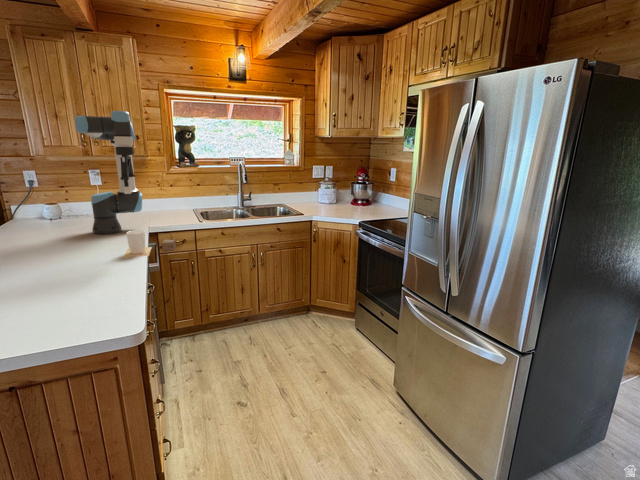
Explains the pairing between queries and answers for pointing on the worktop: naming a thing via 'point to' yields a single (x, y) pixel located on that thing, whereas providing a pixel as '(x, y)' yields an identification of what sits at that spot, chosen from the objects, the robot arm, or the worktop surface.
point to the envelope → (137, 254)
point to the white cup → (136, 241)
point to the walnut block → (168, 245)
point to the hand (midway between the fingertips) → (130, 192)
